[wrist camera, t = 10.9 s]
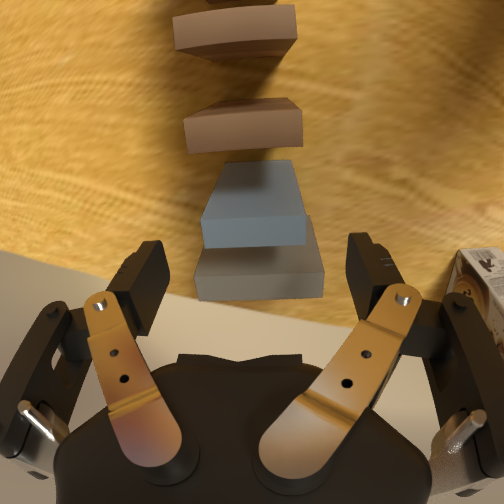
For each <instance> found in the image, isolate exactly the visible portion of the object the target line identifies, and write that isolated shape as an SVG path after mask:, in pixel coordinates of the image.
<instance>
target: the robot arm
mask: <svg viewBox="0 0 504 504" xmlns="http://www.w3.org/2000/svg"><path fill="white" fill-rule="evenodd" d="M346 278H347V281H348V284H349V288H350V291H351V294H352V298H353V301H354V305H355V308H356V312H357V315H358V319H359V322H358V324H357V325H356V326H355V328H354V329H353V331H352V332H351V333H350V335H349V336H348V338H347V339H346V340H345V342H344V343H343V345H342V346H341V347H340V349H339V350H338V351H337V353H336V354H335V355H334V357H333V358H332V359H331V361H330V362H329V363H328V364H327V366H326V367H325V368H324V370H323V369H321V368H319V367H316V366H313V365H310V364H305V363H302V354H295V355H293V354H292V355H269V356H265V357H260V358H256V359H251V360H246V361H240V362H236V361H231V360H226V359H222V358H218V357H214V356H210V355H196V354H179V355H178V359H177V362H176V363H172V364H168V365H165V366H162V367H160V368H158V369H156V370H154V371H152V372H151V371H150V370H149V368H148V366H147V364H146V362H145V360H144V358H143V356H142V354H141V351H140V349H139V347H138V345H137V343H136V341H135V340H136V337H137V336H148V334H149V331H150V328H151V326H152V324H153V321H154V318H155V316H156V313H157V311H158V308H159V306H160V304H161V301H162V299H163V296H164V294H165V292H166V289H167V287H168V284H169V281H170V271H169V267H168V263H167V259H166V255H165V252H164V248H163V244H162V242H161V241H160V240H155V241H144V242H143V243H142V244H141V246H140V247H139V249H138V250H137V252H134V253H132V254H131V255H130V256H129V257H127V258H126V259H125V261H124V262H123V264H122V265H121V268H119V270H118V271H117V274H116V275H115V276H114V278H113V279H112V281H111V282H110V284H109V286H108V287H107V289H106V290H105V291H102V292H99V293H96V294H94V295H92V296H91V297H90V298H88V299H87V300H86V302H85V304H84V307H83V308H78V309H73V310H69V309H68V307H67V305H66V303H65V302H63V301H55V302H52V303H50V304H48V305H47V306H46V307H44V308H43V309H42V311H41V312H40V314H39V315H38V317H37V318H36V320H35V322H34V324H33V325H32V327H31V328H30V330H29V332H28V333H27V335H26V337H25V338H24V340H23V342H22V343H21V345H20V347H19V349H18V351H17V352H16V354H15V356H14V358H13V359H12V361H11V363H10V365H9V367H8V369H7V371H6V373H5V374H4V376H3V379H2V380H1V383H0V455H1V456H2V457H4V458H5V459H6V460H8V461H9V462H11V463H12V464H14V465H15V466H17V467H18V468H20V469H21V470H23V471H26V472H28V473H29V474H31V475H32V476H34V477H35V478H37V479H42V480H43V479H47V478H49V477H50V478H53V479H55V483H56V504H426V503H427V501H430V500H434V499H438V498H441V497H444V496H448V495H451V494H456V495H458V496H460V497H468V496H471V495H473V494H475V493H477V492H478V491H480V490H482V489H484V488H486V487H487V486H489V485H491V484H492V483H494V482H496V481H497V480H499V479H500V478H502V477H504V361H503V359H502V356H501V354H500V352H499V350H498V348H497V346H496V343H495V341H494V339H493V337H492V335H491V333H490V331H489V329H488V327H487V325H486V324H485V322H484V320H483V318H482V316H481V314H480V312H479V310H478V309H477V307H476V305H475V303H474V302H473V301H472V299H470V298H469V297H468V296H466V295H464V294H462V293H458V292H451V293H448V294H446V295H445V296H444V298H443V301H442V303H441V302H434V301H428V300H424V299H422V296H421V294H420V293H419V291H418V290H417V289H415V288H414V287H412V286H410V285H407V284H405V282H404V280H403V278H402V276H401V274H400V272H399V271H398V269H397V267H396V265H395V263H394V261H393V259H391V256H390V254H389V252H388V250H387V249H385V248H384V247H383V246H382V245H380V244H373V242H372V240H371V239H370V237H369V235H368V233H367V232H361V233H350V234H349V237H348V247H347V257H346ZM57 348H58V349H59V351H60V352H61V356H60V358H59V360H58V362H57V365H56V367H55V369H54V370H53V368H52V365H51V360H52V357H53V355H54V353H55V351H56V349H57ZM402 355H409V356H416V357H422V360H423V363H424V367H425V370H426V374H427V377H428V380H429V384H430V388H431V392H432V396H433V400H434V404H435V408H436V412H437V416H438V421H439V425H440V430H439V431H438V432H437V433H436V435H435V436H434V438H433V440H432V443H431V456H430V459H429V461H428V460H427V458H426V457H425V455H424V454H423V453H422V452H421V451H420V450H419V449H418V448H417V447H416V446H415V445H413V444H412V443H411V442H410V441H409V440H407V439H406V438H405V437H404V436H403V435H401V434H400V433H399V432H398V431H397V430H396V429H394V428H393V427H392V426H391V425H390V424H389V423H387V422H386V421H385V420H384V419H383V418H381V417H380V416H379V415H378V414H377V413H376V412H374V411H373V408H374V407H375V405H376V403H377V401H378V399H379V398H380V396H381V393H382V392H383V390H384V388H385V386H386V384H387V383H388V380H389V379H390V377H391V375H392V373H393V371H394V369H395V368H396V366H397V364H398V362H399V360H400V358H401V356H402ZM92 359H93V362H94V366H95V369H96V372H97V375H98V379H99V382H100V385H101V388H102V391H103V394H104V397H105V400H106V403H107V406H106V407H105V408H104V409H102V410H101V411H100V412H98V413H97V414H96V415H94V416H93V417H92V418H90V419H89V420H88V421H86V422H85V423H84V424H82V425H81V426H80V427H78V428H77V429H76V430H74V431H73V432H72V433H70V431H69V428H68V424H69V421H70V418H71V415H72V412H73V410H74V407H75V404H76V401H77V398H78V395H79V393H80V390H81V387H82V384H83V382H84V380H85V377H86V374H87V372H88V369H89V367H90V364H91V362H92Z"/></svg>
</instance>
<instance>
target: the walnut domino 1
mask: <svg viewBox="0 0 504 504" xmlns="http://www.w3.org/2000/svg"><path fill="white" fill-rule="evenodd" d="M206 1H207V2H208V4H213V3H221V2H229V1H239V0H206Z"/></svg>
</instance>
